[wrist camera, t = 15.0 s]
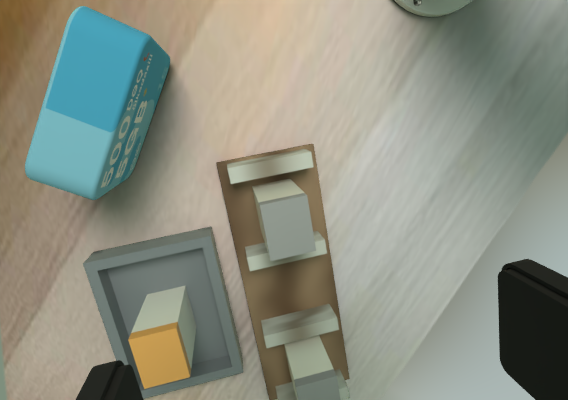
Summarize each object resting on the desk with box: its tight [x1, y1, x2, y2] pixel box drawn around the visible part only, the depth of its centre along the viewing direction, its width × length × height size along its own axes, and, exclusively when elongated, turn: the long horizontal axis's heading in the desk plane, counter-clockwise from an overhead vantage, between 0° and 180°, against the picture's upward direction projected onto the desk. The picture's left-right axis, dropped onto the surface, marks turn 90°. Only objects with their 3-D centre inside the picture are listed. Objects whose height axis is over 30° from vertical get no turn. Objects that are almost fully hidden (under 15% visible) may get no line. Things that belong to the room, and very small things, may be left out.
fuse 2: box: [284, 335, 341, 400], centre depth 39 cm, size 4×5×8 cm
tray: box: [83, 227, 243, 399], centre depth 39 cm, size 12×16×3 cm
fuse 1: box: [252, 179, 316, 261], centre depth 35 cm, size 4×5×8 cm
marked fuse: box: [128, 286, 196, 389], centre depth 35 cm, size 4×5×8 cm
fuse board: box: [217, 144, 350, 400], centre depth 40 cm, size 10×29×4 cm, turn 10°
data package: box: [25, 6, 170, 200], centre depth 29 cm, size 12×4×12 cm, turn 157°
